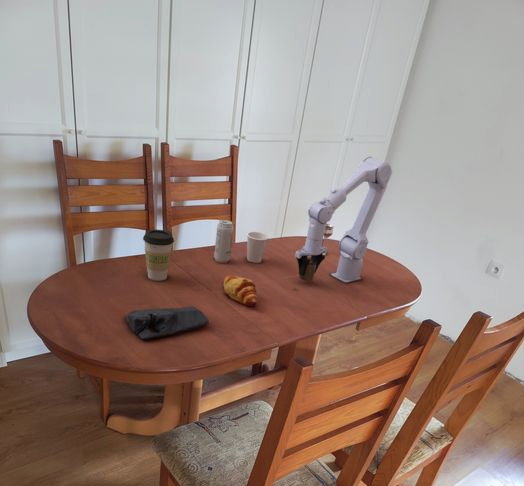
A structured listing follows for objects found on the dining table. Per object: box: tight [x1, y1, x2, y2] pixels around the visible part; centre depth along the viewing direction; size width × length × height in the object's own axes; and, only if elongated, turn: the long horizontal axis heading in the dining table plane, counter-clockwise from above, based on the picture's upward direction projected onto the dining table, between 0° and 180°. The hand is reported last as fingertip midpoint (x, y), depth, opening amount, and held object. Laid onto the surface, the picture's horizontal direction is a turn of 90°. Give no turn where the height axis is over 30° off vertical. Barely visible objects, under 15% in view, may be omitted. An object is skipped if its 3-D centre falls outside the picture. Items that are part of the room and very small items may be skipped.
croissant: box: [223, 274, 258, 307], centre depth 156 cm, size 21×10×8 cm, turn 30°
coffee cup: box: [142, 229, 175, 282], centre depth 157 cm, size 10×10×15 cm
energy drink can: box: [213, 219, 234, 264], centre depth 177 cm, size 6×6×15 cm
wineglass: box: [321, 223, 335, 256], centre depth 202 cm, size 7×7×12 cm
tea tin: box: [298, 256, 317, 282], centre depth 173 cm, size 6×6×7 cm
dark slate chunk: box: [125, 305, 209, 341], centre depth 134 cm, size 15×22×5 cm
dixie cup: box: [246, 231, 269, 264], centre depth 184 cm, size 8×8×10 cm
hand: (307, 273), depth 174 cm, fingers closed on tea tin, 5 cm apart
